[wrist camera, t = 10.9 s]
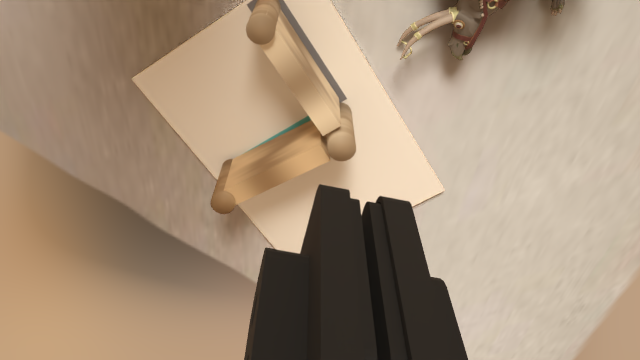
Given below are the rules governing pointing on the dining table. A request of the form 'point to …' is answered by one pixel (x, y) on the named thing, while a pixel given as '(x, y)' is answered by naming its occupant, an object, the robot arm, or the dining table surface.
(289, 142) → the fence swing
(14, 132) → the dining table surface
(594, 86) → the dining table surface
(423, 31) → the figurine
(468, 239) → the dining table surface
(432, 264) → the dining table surface
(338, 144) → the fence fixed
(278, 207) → the card
